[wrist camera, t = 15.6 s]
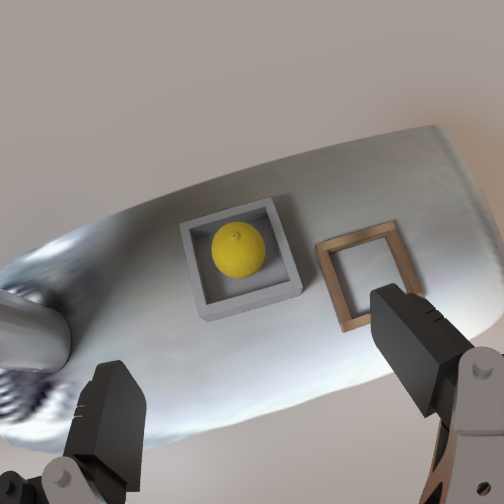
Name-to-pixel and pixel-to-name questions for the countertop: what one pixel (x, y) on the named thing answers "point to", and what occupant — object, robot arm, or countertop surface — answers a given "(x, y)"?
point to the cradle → (353, 240)
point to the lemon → (238, 250)
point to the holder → (247, 289)
